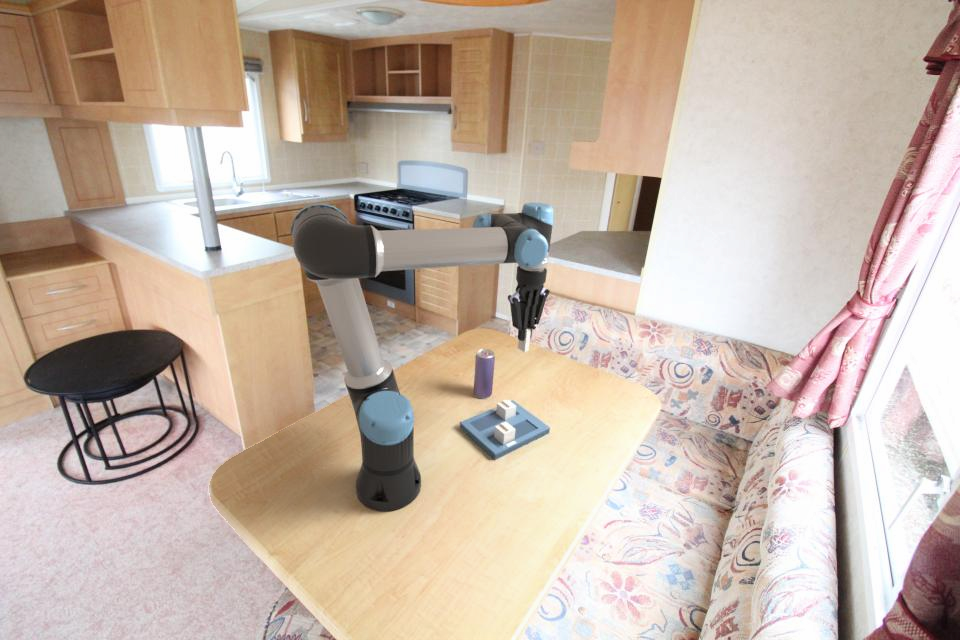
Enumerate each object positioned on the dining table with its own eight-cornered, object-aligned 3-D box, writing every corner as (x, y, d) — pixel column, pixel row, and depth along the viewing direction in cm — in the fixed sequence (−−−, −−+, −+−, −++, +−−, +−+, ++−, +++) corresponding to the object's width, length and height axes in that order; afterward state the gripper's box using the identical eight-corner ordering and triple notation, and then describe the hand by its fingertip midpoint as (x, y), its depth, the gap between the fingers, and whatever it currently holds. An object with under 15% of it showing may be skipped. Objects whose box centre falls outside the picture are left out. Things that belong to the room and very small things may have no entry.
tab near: (503, 444, 124) (504, 432, 123) (493, 436, 127) (495, 424, 125) (514, 439, 127) (515, 427, 125) (505, 431, 129) (506, 419, 128)
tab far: (504, 420, 134) (506, 408, 132) (496, 413, 137) (497, 401, 135) (515, 415, 136) (516, 404, 135) (506, 408, 139) (507, 397, 138)
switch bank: (495, 460, 121) (495, 453, 120) (459, 427, 132) (460, 421, 132) (549, 433, 132) (550, 427, 132) (512, 405, 144) (513, 399, 143)
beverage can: (491, 400, 146) (495, 358, 140) (473, 398, 146) (475, 357, 140) (491, 389, 151) (495, 349, 145) (473, 388, 151) (476, 348, 145)
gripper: (523, 275, 110) (514, 361, 119) (561, 267, 117) (550, 349, 127) (502, 266, 115) (495, 349, 125) (540, 259, 122) (531, 338, 132)
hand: (523, 349), depth 126 cm, fingers closed
